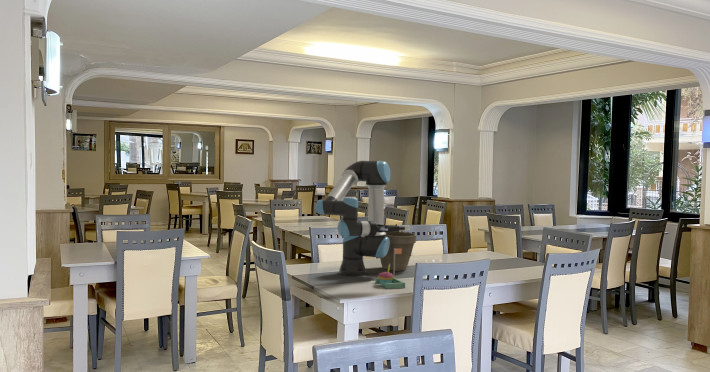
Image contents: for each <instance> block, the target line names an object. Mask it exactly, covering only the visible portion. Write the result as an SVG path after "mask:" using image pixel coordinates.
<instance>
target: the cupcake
mask: <svg viewBox="0 0 710 372" xmlns="http://www.w3.org/2000/svg"><path fill="white" fill-rule="evenodd" d="M389 269H390V264H389V267H388V270H387V271H384V272H383V271H382V272H380V273H378V275H377V278H378V279H379V280H380V283H379V284H380V286H381V287H385V283H391V282H392V280H393V279H394V275H393V273H391V272H390V270H389Z"/></svg>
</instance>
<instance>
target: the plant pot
mask: <svg viewBox="0 0 710 372" xmlns="http://www.w3.org/2000/svg"><path fill="white" fill-rule="evenodd" d="M385 233H386V237H388V238H389V241H390V245H389V250H388V253H387V255H386V256H385V257H383V258H379V259H380V264H381V267H382V270H386V271H388V267H389V264H390V269H389V271H392V272H393V265H394V248H395V249H402V252H401V254H395V272H396V271H397V272H398V271H399V272H401V270H402V271H406V270H407V268H408V265H409V262H410V258H411V256H412V252H413V249H414V245H415V243H416V242H417V234H416V233H415V232H414V233H413V232H410V231H399V232H397V231H395V232H385Z"/></svg>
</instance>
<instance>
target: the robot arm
mask: <svg viewBox="0 0 710 372" xmlns="http://www.w3.org/2000/svg"><path fill="white" fill-rule="evenodd" d="M391 175H392V174H391V169H390V166H389V164H388V162H386V161H385V160H383V161H382V160H359V161H355V162H353V163H352V164H350V165H348V166H347V167H346V168H345V169H344V171H343V172H342V174H341V177H340V179H339V180H338V181H337V183H336V184H335V185H334V186H333V188H332V189H331V191H330V192H329V193H328V195H327V196H326V197H325V198H324V199H319V200H318V199H317V201H316V204H315V211H316V213H317V214H318V215H324V216H342V220H340V221H339V222H338V223H337V233H338V235H339V236H341V237H343V238H342V261H341V264H340V265H339V266H340V267H339V270H338V272H339V274H340V275H343V276H351V277H352V276H354V277H357V276H358V277H359V276H365V275H366V274H367V271H366V270H367V269H366V267H365V266H366V265H365V262H364V257H369V258H370V257H371V258H376V259H380V258H383V257H385V256H386V255H387V253H388V250H389V245H390V241H389V238H388V237H386V233H385V232H395V231H397V232H410V231H411V225H409V224H408V225H398V224H397V223H396V224H384V218H385V213H384V212H385V211H384V209H385V205H384V204H385V188H386V187H387V184H388V183H389V182H390V181H391ZM359 182H365V186H366V187H367V188H368V203H367V205H368V209H367V210H368V211H367V213H368V214H367V215H368V217H367V219H368V220H358V216H359V199H358V198H357V197H353V196H352V197H351V196H349V197H346V195H347V194H348V193H349V192H350V190H351V188H352V187H353V185H356V184H357V183H359Z"/></svg>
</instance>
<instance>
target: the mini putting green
mask: <svg viewBox="0 0 710 372" xmlns="http://www.w3.org/2000/svg"><path fill="white" fill-rule="evenodd" d="M401 252H402V249H395V248H394V265H393V271H392V272H393V273H392V274H393V275H394V279H393V280H392V282H391V283H385V286H384V288H385V289H386V290H388V289H389V290H391V289H405V288H406V282H405V281H402V280H400V279H398V278H396V273H395V272H396V271H395V254H401ZM374 280H375V281H374V282H375V284H381V283H380V280H379V279H378V277H377V278H375V279H374Z"/></svg>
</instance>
